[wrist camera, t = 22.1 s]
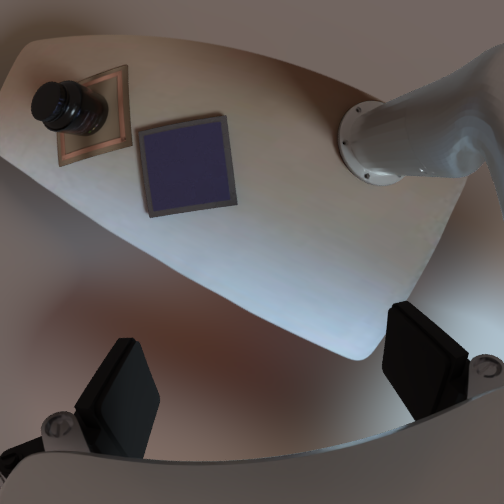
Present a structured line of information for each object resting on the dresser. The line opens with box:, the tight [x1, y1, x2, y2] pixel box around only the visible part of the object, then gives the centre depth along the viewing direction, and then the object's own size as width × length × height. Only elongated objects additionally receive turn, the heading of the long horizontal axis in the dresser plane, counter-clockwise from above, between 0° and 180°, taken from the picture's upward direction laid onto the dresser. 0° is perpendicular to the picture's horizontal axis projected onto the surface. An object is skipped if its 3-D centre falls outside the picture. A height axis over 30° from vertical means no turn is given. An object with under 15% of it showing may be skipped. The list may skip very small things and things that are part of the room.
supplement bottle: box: [31, 81, 109, 136], centre depth 28 cm, size 7×7×12 cm
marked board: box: [57, 65, 133, 167], centre depth 34 cm, size 13×13×1 cm
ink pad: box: [139, 116, 238, 218], centre depth 36 cm, size 12×12×2 cm
